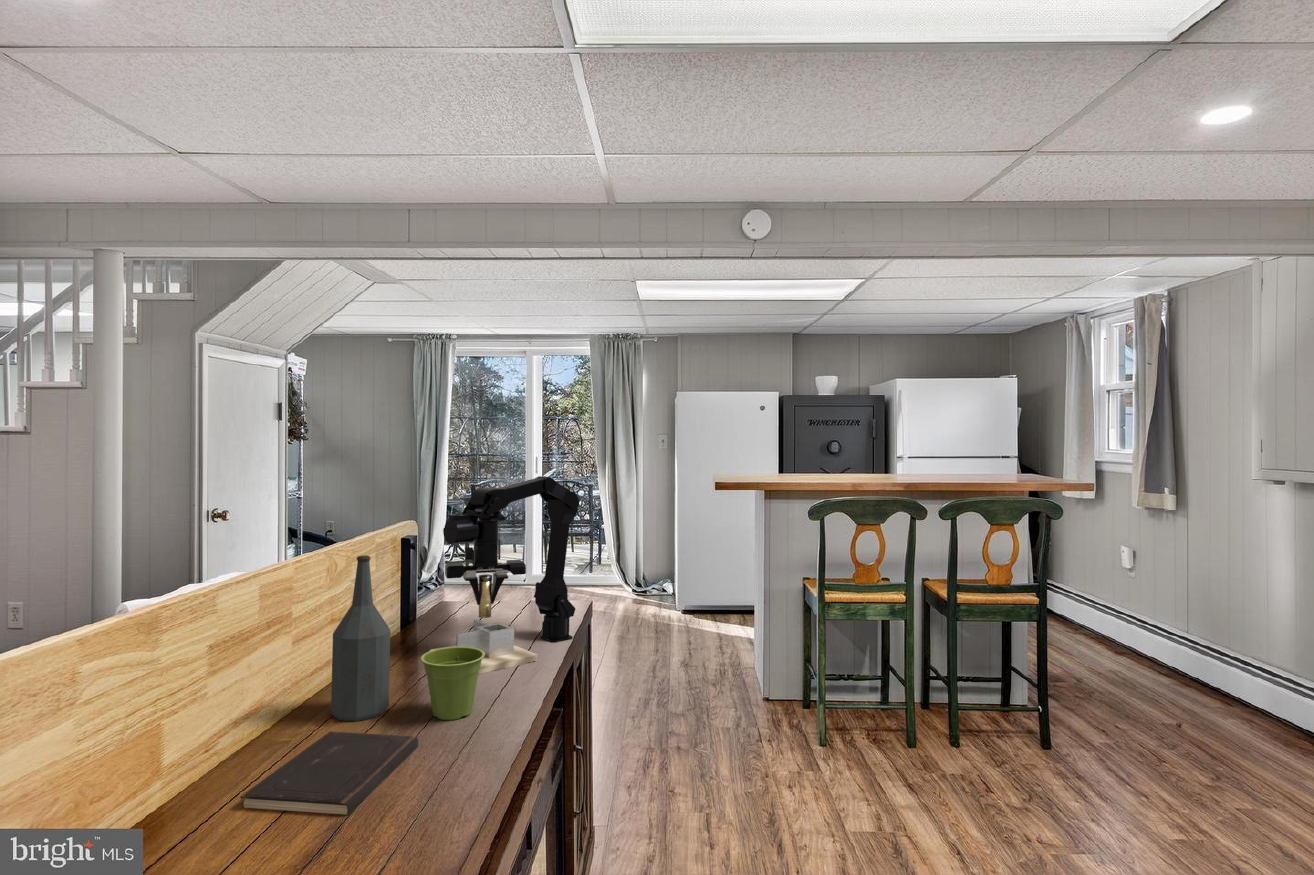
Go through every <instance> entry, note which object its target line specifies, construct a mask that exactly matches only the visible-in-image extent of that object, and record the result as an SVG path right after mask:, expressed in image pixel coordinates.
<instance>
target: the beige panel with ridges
mask: <svg viewBox="0 0 1314 875" xmlns="http://www.w3.org/2000/svg"><path fill="white" fill-rule="evenodd" d="M455 642H456V643H455V644H453V645H447V646H443V647H437V648H432V649H429V651H432V650H435V649H440V648H446V647H473V648H477V649H480V650H482V651H484V652H485V656H484V658H483V659H482V661H481V666H480V669H479V672H478V675H482V674H486V673H491V672H496V671H499V669H500V670H504V669H503V668H505V669H509V668H513V667H517V666H521V664H522V665H525V664H524V663H527V664H529V663H528V662H531V663H534V662H533V661H536V662H538V654H537V653H534V652H532V651H529V650H527V649H525V648H522V647H519V646H517V645H515V628H514V627H512V626H509V625H507V624H503V623H501V622H498V623H493V624H488V623H486V622H483V621H482V620H478V619H473V631H471V630H470V631H467V632H462V633H456V641H455ZM429 651H428V652H429ZM495 670H496V671H495Z"/></svg>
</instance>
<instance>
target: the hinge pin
mask: <svg viewBox="0 0 1314 875" xmlns="http://www.w3.org/2000/svg"><path fill="white" fill-rule="evenodd" d="M492 585H493V574H488V573H487V574H486V573H483V574H479V575H478V587H479V598H480V601H479V605H478V618H480V619H488V618H489V619H490V618H491V617H492V604H491V599H492Z"/></svg>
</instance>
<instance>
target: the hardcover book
mask: <svg viewBox="0 0 1314 875" xmlns="http://www.w3.org/2000/svg"><path fill="white" fill-rule="evenodd" d="M418 747H419V738H418V737H417V736H415V735H414V736H413V735H411V736H410V735H397V734H396V735H395V734H394V735H393V734H381V733H380V734H377V733H363V732H362V733H360V732H348V731H347V732H345V731H328V732H327V733H326V734H324V735H323V736H321V737H320V738H319V739H317V740H316V741H315V742H313V743H312V744H311V745H309V746H308V747H306V748H305V749H303V751H301V752H300V753H298V754H296V755H295V756H294V757H292V759H290V760H289V761H287V762H285V764H283V765H282V766H280V767H279V768H277V769H276V770H274V772H272V773H270V774H269V775H268V776H266V777H265V778H263V779H262V780H261V781H259V782H258V783H257V784H256V785H255V784H254V786H253V787H251V788H250V789H248V790H247V791H245V792H244V793H243V794H242V795H240V799H244V801H243V803H242V804H243V808H245V809H259V810H270V811H271V810H273V811H288V812H290V811H291V812H302V813H303V812H305V813H317V814H331V815H332V814H333V815H346V816H350V814H351V813H353V812H354V810H356V808H358V807H359V806H360V805H361V804H362V803H363V802H364V801H365V799H367V798H368V797H369V796H370V795H371V794H372V793H373V792H374V791H375V790H376V789H377V788H378V787H379V786H380V785H381V784H382V783H383V782H384V781H385V780H386V779H387V778H388V777H389V776H390V775H391V774H392V773H393V772H394V771H395V770H396V769H397V768H399V767H400V766H401V764H402V763H404V761H405V760H406V759H407V758H408V757H410V755H412V754H413V752H414V751H416V749H418Z"/></svg>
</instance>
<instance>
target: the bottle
mask: <svg viewBox="0 0 1314 875" xmlns="http://www.w3.org/2000/svg"><path fill="white" fill-rule="evenodd" d="M370 560H371V556H370V555H357V556H356V561H357V564H356V572H355V578H354V579H355V580H354V587H353V594H352V602H351V605H350V606H349V609H348V610H347V611H346V613H345V614H344V616H343V617H342V619H341V620H340V622H339V624H338V625H337V627H336V628H335V630H334V631H333V633H332V652H331V653H332V656H331V659H332V660H331V662H332V663H331V695H330V696H331V697H330V698H331V701H330V702H331V703H330V713H331V714H332V716H333V717H334V718H335V719H337V720H338V721H339V720H340V721H341V720H342V721H345V722H359V721H365V720H371V719H374V718H377V717H380V716H381V715H382V714H383V713H385V711H386V710H387V709H388V707H389V705H390V668H391V667H390V664H391V662H390V660H391V657H390V656H391V628H390V627H389V626H388V624H387V623H386V621H385V619H384V618H383V616H382V615H381V614H380V612H379V611H378V610H379V609H377V607H376V606H375V604H374V600H373V589H372V578H371V565H370ZM379 715H380V716H379Z"/></svg>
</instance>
